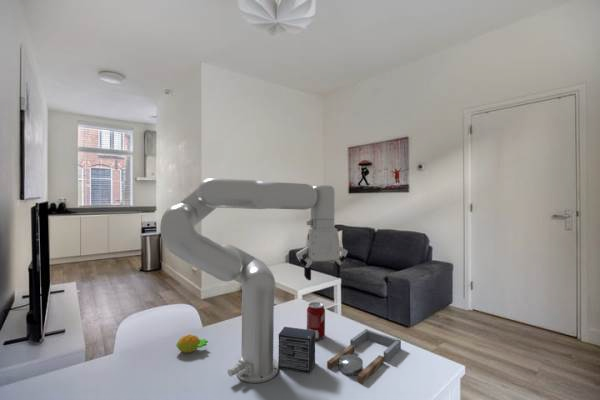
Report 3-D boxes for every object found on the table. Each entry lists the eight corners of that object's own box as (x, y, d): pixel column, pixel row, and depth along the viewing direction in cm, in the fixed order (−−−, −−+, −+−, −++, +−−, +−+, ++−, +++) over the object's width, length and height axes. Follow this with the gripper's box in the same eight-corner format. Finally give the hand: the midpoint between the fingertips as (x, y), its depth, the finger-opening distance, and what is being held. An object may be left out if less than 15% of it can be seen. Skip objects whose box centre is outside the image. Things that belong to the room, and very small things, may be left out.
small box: (315, 362, 95) (316, 329, 95) (311, 374, 89) (311, 339, 88) (284, 357, 98) (284, 325, 98) (277, 368, 91) (277, 334, 91)
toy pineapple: (179, 346, 104) (180, 331, 104) (209, 345, 105) (209, 330, 105) (173, 357, 97) (173, 340, 97) (204, 356, 98) (205, 340, 98)
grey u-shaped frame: (387, 362, 95) (387, 353, 95) (350, 348, 104) (350, 339, 104) (400, 348, 104) (400, 340, 104) (365, 336, 112) (365, 328, 112)
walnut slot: (362, 384, 84) (362, 377, 84) (327, 367, 92) (327, 361, 92) (383, 363, 95) (383, 356, 95) (350, 350, 102) (350, 344, 102)
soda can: (318, 342, 107) (318, 309, 107) (303, 337, 111) (303, 305, 111) (328, 335, 113) (328, 304, 113) (313, 330, 117) (313, 300, 117)
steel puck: (355, 380, 86) (355, 370, 86) (334, 371, 90) (334, 361, 90) (366, 369, 91) (366, 359, 91) (346, 361, 96) (346, 351, 96)
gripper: (300, 226, 88) (300, 283, 89) (352, 224, 94) (352, 278, 94) (293, 224, 96) (292, 277, 96) (341, 222, 101) (341, 272, 101)
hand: (322, 277), depth 95 cm, fingers open, 9 cm apart
